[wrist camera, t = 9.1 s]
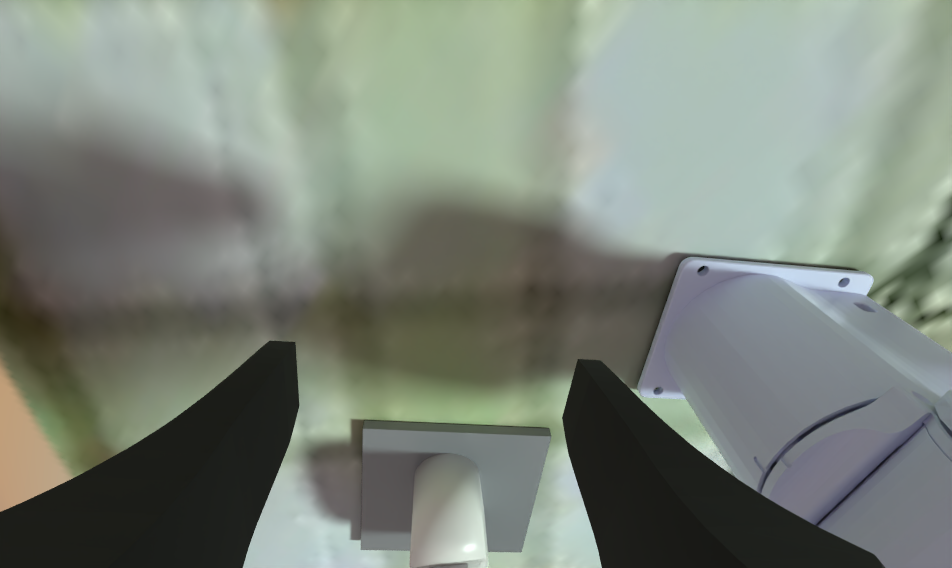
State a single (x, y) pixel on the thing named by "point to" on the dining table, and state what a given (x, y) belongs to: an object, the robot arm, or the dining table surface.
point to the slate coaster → (490, 448)
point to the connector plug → (448, 515)
